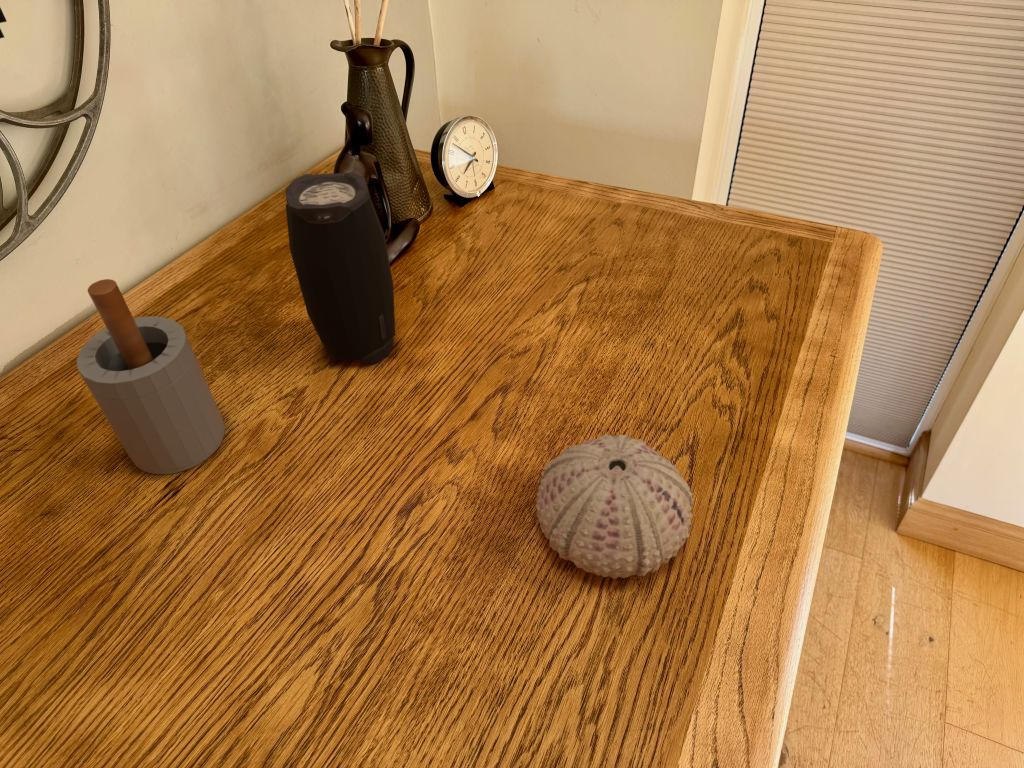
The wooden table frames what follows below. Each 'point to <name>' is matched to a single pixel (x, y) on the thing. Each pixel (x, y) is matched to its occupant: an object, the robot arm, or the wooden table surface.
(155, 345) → the hollow cylinder
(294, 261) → the portable speaker
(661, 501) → the sea urchin shell
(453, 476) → the wooden table surface
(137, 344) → the brown pestle
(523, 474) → the wooden table surface
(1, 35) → the robot arm
